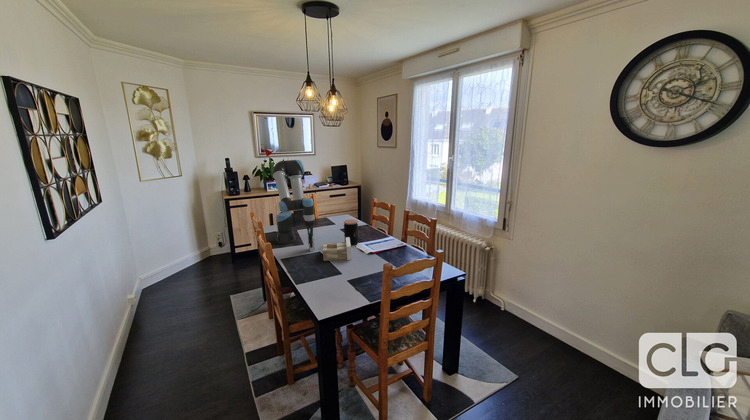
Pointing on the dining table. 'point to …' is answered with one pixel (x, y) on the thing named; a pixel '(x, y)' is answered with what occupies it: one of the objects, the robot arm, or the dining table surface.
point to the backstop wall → (348, 248)
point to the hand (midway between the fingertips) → (312, 249)
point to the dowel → (313, 243)
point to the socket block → (334, 251)
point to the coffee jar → (351, 231)
